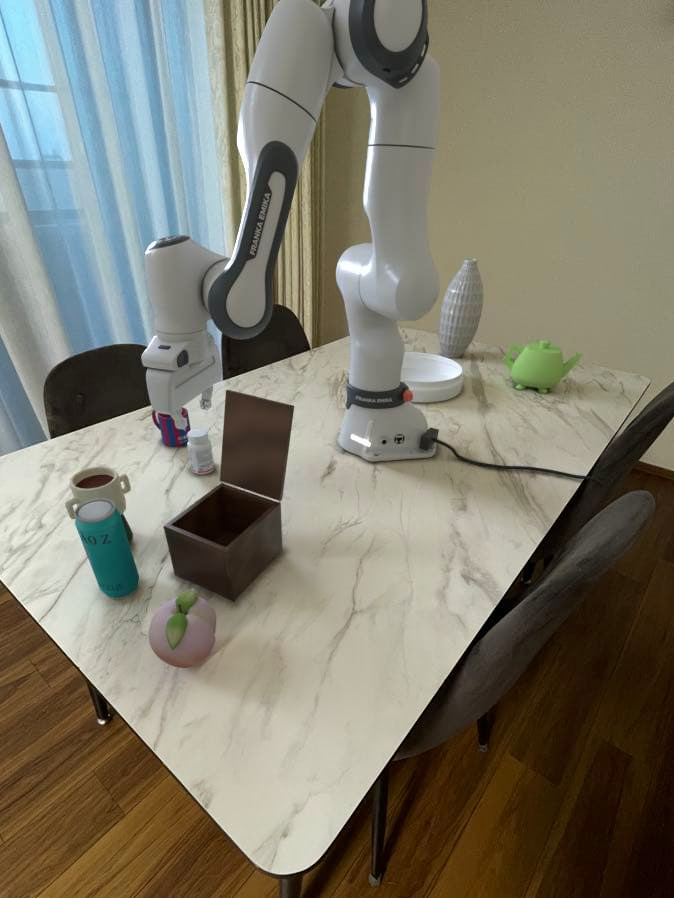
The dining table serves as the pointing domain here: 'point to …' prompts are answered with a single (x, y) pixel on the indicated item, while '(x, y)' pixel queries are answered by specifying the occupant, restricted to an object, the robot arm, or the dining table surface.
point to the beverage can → (107, 547)
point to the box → (225, 540)
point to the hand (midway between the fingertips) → (194, 417)
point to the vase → (461, 310)
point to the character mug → (100, 490)
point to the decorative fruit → (183, 630)
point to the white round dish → (431, 377)
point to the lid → (255, 443)
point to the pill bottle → (200, 451)
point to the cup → (172, 428)
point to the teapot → (538, 365)
